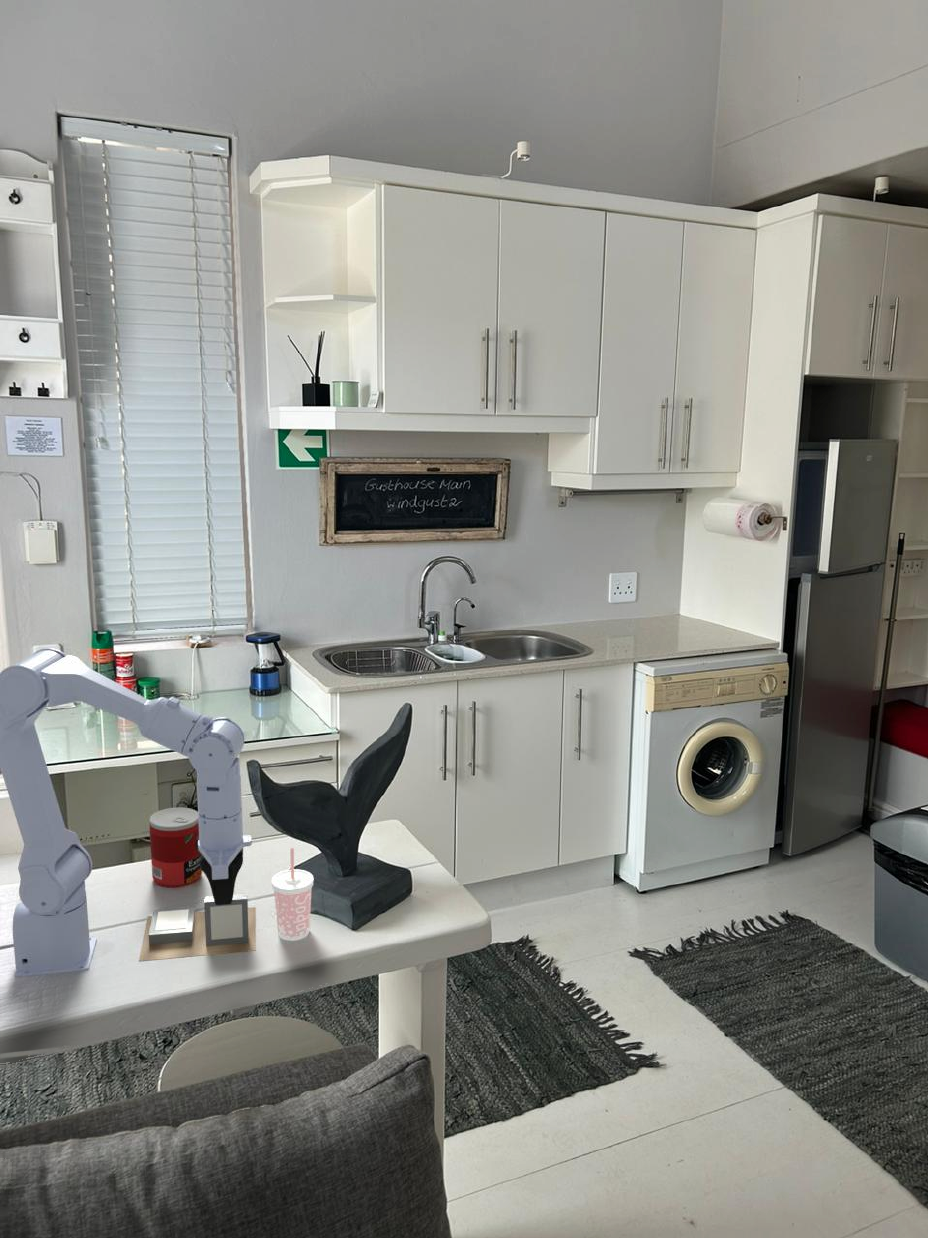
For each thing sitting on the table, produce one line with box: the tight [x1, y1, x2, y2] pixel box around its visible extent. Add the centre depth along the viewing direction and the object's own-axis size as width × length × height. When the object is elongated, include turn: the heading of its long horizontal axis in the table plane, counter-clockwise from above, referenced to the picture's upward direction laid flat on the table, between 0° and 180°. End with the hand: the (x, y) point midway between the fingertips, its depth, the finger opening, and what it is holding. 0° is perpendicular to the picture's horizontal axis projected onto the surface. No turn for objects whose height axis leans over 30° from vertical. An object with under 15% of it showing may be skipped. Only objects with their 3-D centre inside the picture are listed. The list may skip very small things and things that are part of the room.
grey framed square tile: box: [149, 906, 196, 945], centre depth 143 cm, size 6×2×7 cm
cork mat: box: [138, 907, 257, 962], centre depth 143 cm, size 16×12×1 cm
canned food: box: [148, 806, 203, 889], centre depth 158 cm, size 8×8×11 cm
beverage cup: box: [271, 846, 315, 942], centre depth 142 cm, size 6×6×14 cm
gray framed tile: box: [203, 892, 249, 946], centre depth 140 cm, size 6×2×7 cm, turn 102°
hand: (223, 902), depth 133 cm, fingers closed
